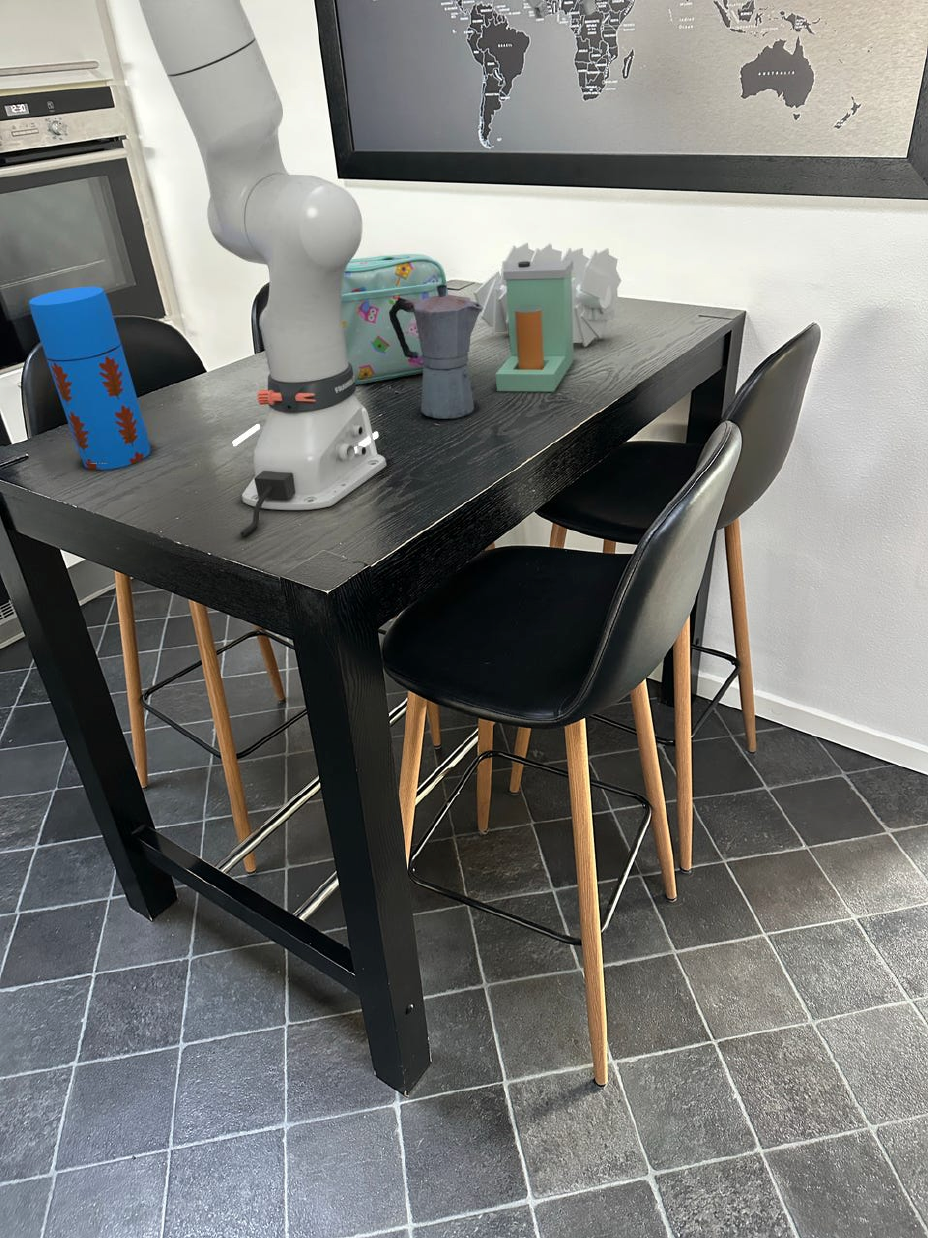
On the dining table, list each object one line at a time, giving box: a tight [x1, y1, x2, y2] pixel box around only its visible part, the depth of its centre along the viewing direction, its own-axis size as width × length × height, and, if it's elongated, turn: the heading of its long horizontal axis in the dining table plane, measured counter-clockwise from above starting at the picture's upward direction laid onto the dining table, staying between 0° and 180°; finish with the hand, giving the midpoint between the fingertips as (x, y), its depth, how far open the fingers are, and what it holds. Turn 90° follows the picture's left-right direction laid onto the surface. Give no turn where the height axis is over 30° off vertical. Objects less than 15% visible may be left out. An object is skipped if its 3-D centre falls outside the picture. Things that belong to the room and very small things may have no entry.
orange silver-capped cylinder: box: [515, 305, 544, 370], centre depth 155 cm, size 4×4×12 cm
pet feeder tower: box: [504, 260, 575, 373], centre depth 160 cm, size 7×11×18 cm, turn 73°
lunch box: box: [341, 253, 449, 386], centre depth 163 cm, size 27×10×21 cm, turn 102°
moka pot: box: [389, 285, 483, 420], centre depth 144 cm, size 10×15×20 cm, turn 78°
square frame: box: [495, 355, 567, 393], centre depth 157 cm, size 10×10×3 cm
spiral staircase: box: [473, 242, 622, 348], centre depth 174 cm, size 18×18×25 cm
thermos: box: [28, 286, 151, 471], centre depth 139 cm, size 11×11×25 cm
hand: (565, 14), depth 137 cm, fingers open, 8 cm apart
